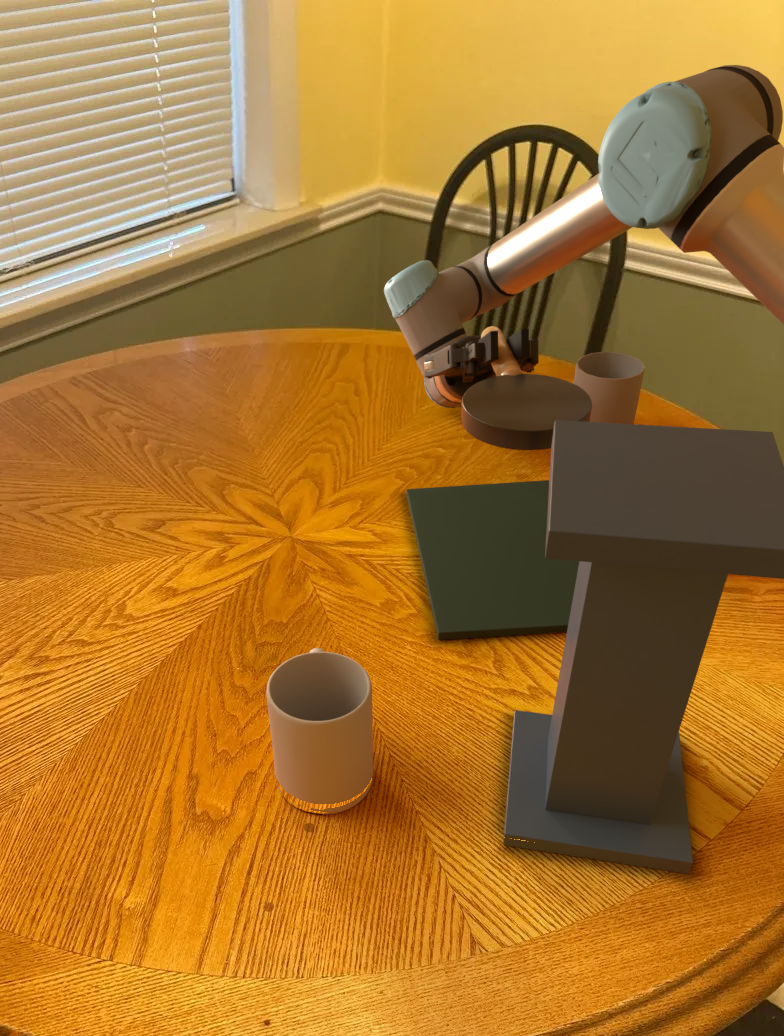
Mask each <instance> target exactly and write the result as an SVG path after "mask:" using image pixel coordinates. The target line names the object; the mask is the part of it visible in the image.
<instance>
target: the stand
mask: <svg viewBox="0 0 784 1036" xmlns="http://www.w3.org/2000/svg"><path fill="white" fill-rule="evenodd" d="M549 464H550V465H549V478H548V480H549V496H548V514H547V531H546V548H545V558H548V559H560V560H571V561H579V567H578V573H577V578H576V584H575V589H574V595H573V601H572V606H571V612H570V618H569V623H568V629H567V632H566V634H565V635H566V636H565V641H564V647H563V654H562V658H561V662H560V669H559V675H558V680H557V686H556V692H555V697H554V702H553V709H552V714H549V713H541V712H533V711H526V710H514V712H513V713H514V715H513V721H512V732H511V741H510V742H511V744H510V756H509V768H508V780H507V790H506V792H507V793H506V802H505V815H504V826H503V828H504V829H503V838H502V839H503V840H502V846H506V847H513V848H519V849H525V850H532V851H539V852H545V853H550V854H551V853H552V854H556V855H557V854H558V855H564V856H571V857H576V858H583V859H591V860H595V861H596V860H597V861H602V862H609V863H616V864H622V865H628V866H635V867H642V868H648V869H653V870H661V871H666V872H667V871H668V872H674V873H681V874H685V875H686V874H688V875H689V874H690V872H691V870H692V867H693V865H694V858H693V849H692V840H691V839H692V838H691V829H690V821H689V820H690V819H689V810H688V801H687V792H686V783H685V773H684V765H683V763H684V762H683V756H682V754H683V753H682V745H681V737H680V736H681V735H680V728H681V725H682V722H683V719H684V716H685V713H686V710H687V707H688V704H689V701H690V697H691V694H692V691H693V688H694V684H695V681H696V677H697V675H698V671H699V668H700V665H701V662H702V658H703V655H704V652H705V650H706V646H707V643H708V640H709V636H710V634H711V630H712V627H713V623H714V621H715V617H716V614H717V611H718V608H719V605H720V602H721V597H722V595H723V592H724V589H725V587H726V582H727V580H728V576H729V575H732V576H733V575H735V576H744V577H745V576H746V577H755V578H765V579H767V578H768V579H780V580H784V463H783V460H782V456H781V454H780V451H779V448H778V444H777V442H776V438H775V435H774V432H773V431H761V430H760V431H759V430H743V429H726V428H708V427H689V426H673V425H672V426H670V425H654V424H653V425H652V424H635V423H634V424H619V423H600V422H582V421H564V420H555V423H554V430H553V438H552V445H551V449H550V463H549ZM505 819H506V820H505ZM504 831H505V832H504ZM504 837H505V838H504ZM508 838H512V839H508ZM514 839H520V840H514ZM521 840H526V841H521ZM527 841H529V842H527ZM534 842H535V843H534Z"/></svg>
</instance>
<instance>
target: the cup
mask: <svg viewBox="0 0 784 1036" xmlns="http://www.w3.org/2000/svg"><path fill="white" fill-rule="evenodd" d="M645 370H646V366H645V364H644V362H643V361H642V360H641V359H639V358H638V357H635V356H633V355H629V354H626V353H623V352H613V351H600V352H591V353H589V354H585V355H583V356H581V357H580V358H579V359H578V360H577V361H576V363H575V369H574V375H573V382H572V383H573V384H575V385H577V386H579V387H580V388H582V389H583V390H584V391H585V392H586V393H587V394H588V395H589V396H590V398H591V401H592V409H591V415H590V422H600V423H619V424H635V420H636V415H637V411H638V405H639V400H640V395H641V390H642V386H643V380H644V375H645Z"/></svg>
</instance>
